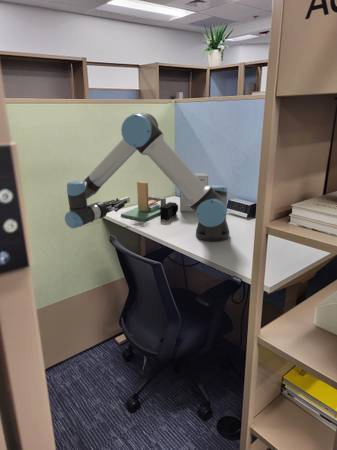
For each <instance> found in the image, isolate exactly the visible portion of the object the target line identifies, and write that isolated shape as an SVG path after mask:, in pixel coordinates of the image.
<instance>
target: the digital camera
mask: <svg viewBox="0 0 337 450" xmlns="http://www.w3.org/2000/svg"><path fill="white" fill-rule="evenodd" d="M178 211H179V204H177V202H171V201H169V202H166V204H165V205H163V206H161V207H160V215H159V217H160V220H162V221H167V222H168V221H169V220H171V219H173V218H175V217H176V216H177V213H178Z"/></svg>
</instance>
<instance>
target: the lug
mask: <svg viewBox="0 0 337 450" xmlns="http://www.w3.org/2000/svg"><path fill="white" fill-rule="evenodd" d="M152 199H156V200H161V201H160V205H161V206H163V205H165V204H167V199H166V197H162V196H161V197H160V196H155V195H148V201H150V200H152Z"/></svg>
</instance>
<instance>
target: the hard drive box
mask: <svg viewBox="0 0 337 450" xmlns="http://www.w3.org/2000/svg"><path fill="white" fill-rule="evenodd" d="M194 174H195V175H196V176H197V178H198V179H199V180H200V181H201V182H202V183H203V184H204V185H209V174H208V173H194ZM179 202H180V203H179V206H180V207H179V210H180V211H179V212H194V211H193V210H192V209H191V208H190V207H189V200H188V199H187V198H186V197H185V196H184V194H183V193H182V192H181V191H180V190H179Z"/></svg>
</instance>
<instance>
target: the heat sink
mask: <svg viewBox="0 0 337 450" xmlns="http://www.w3.org/2000/svg"><path fill="white" fill-rule="evenodd" d="M159 205H160V203H158V202H156V203H153V204H151V205H149V212H152V211H155V210H157V209H159Z"/></svg>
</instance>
